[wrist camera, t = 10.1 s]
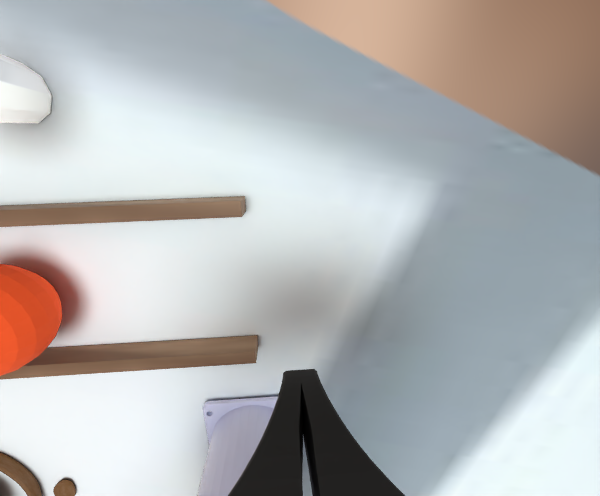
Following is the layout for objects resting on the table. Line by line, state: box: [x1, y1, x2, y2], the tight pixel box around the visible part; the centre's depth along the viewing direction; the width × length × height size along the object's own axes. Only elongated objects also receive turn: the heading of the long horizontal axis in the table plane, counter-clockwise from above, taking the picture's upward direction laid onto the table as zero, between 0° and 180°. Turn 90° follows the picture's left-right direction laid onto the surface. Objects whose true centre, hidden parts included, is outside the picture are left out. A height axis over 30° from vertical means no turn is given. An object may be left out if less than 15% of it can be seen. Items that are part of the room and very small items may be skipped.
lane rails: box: [0, 196, 258, 379], centre depth 20 cm, size 12×22×2 cm, turn 92°
